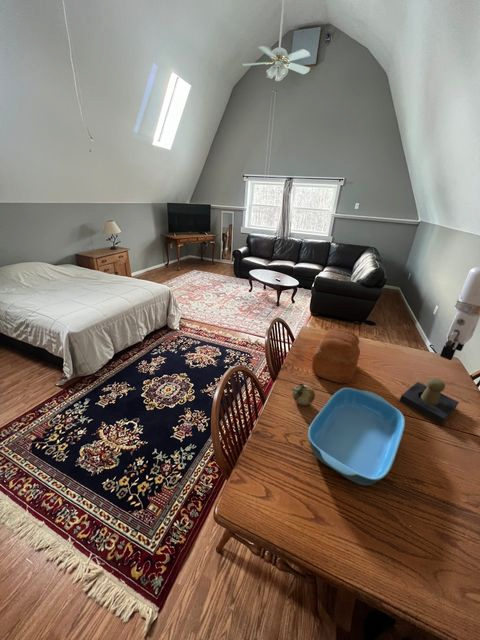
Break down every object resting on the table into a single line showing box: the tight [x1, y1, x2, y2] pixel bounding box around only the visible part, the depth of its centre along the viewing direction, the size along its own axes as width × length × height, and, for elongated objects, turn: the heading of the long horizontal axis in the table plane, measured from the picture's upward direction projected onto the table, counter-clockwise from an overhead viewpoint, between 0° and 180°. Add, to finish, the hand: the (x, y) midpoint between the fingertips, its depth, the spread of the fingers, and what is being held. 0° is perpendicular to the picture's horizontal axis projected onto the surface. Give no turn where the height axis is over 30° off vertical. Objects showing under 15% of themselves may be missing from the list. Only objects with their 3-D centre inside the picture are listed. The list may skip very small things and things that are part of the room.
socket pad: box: [399, 381, 460, 426], centre depth 99 cm, size 14×14×3 cm
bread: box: [311, 328, 361, 384], centre depth 115 cm, size 18×22×17 cm
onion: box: [291, 382, 316, 406], centre depth 97 cm, size 8×8×8 cm
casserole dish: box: [307, 387, 406, 486], centre depth 82 cm, size 37×22×7 cm, turn 140°
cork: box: [420, 377, 446, 406], centre depth 98 cm, size 6×6×11 cm
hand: (450, 353), depth 91 cm, fingers open, 9 cm apart
